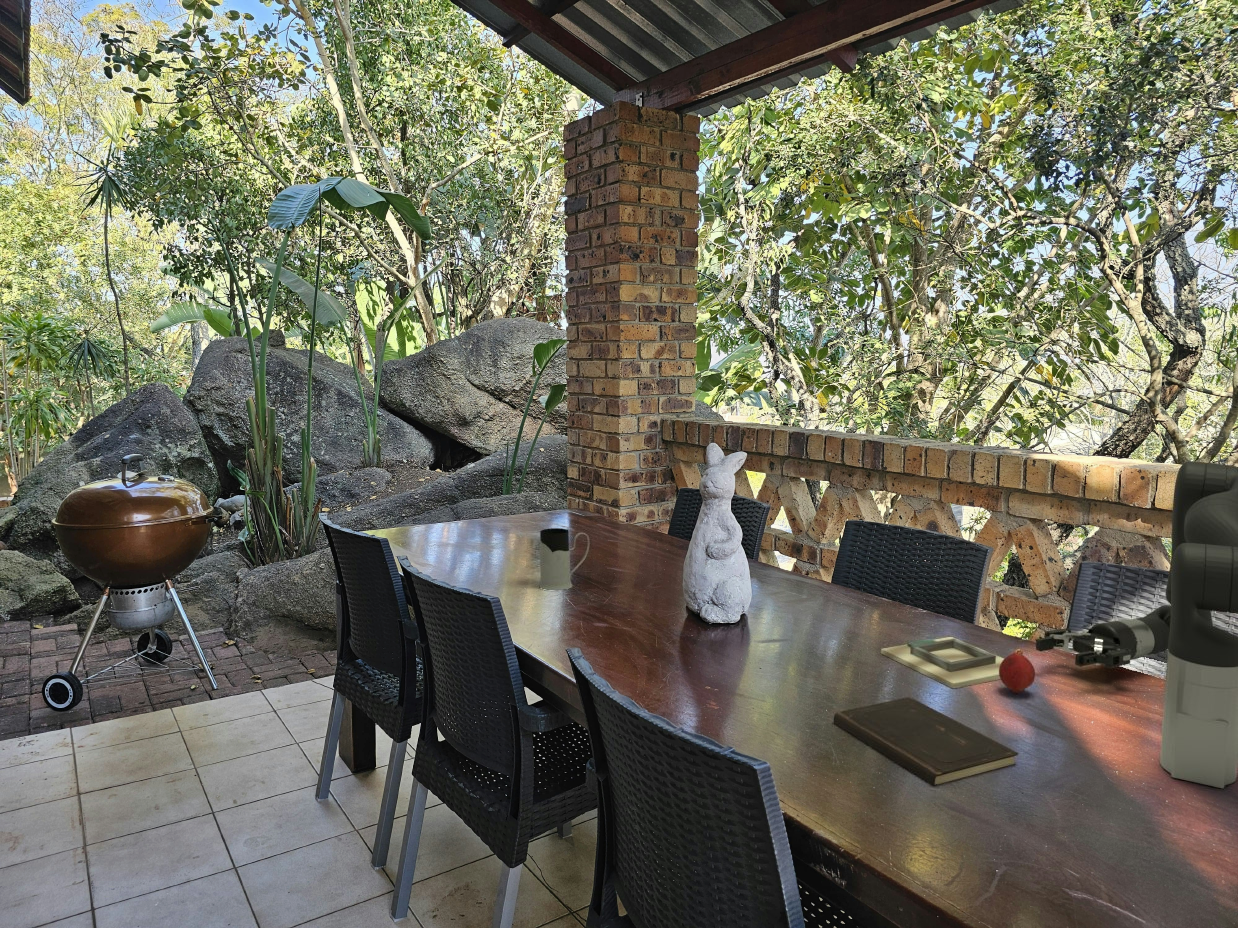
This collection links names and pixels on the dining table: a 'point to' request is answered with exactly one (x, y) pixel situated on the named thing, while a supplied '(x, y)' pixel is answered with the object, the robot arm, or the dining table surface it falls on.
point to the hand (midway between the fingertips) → (1056, 652)
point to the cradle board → (948, 661)
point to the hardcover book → (924, 740)
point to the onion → (1017, 672)
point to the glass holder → (556, 558)
